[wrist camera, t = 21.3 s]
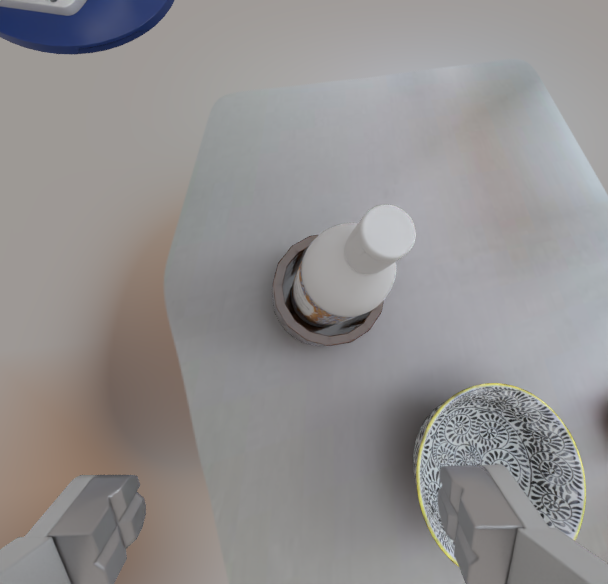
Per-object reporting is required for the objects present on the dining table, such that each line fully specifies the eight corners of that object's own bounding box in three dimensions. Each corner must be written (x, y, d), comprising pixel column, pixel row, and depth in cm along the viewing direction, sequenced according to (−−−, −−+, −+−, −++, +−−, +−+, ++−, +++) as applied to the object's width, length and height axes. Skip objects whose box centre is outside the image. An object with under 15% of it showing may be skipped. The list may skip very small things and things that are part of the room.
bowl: (387, 370, 35) (419, 376, 28) (517, 382, 37) (580, 390, 30) (381, 530, 32) (415, 583, 25) (523, 535, 34) (595, 586, 27)
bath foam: (281, 276, 35) (301, 184, 15) (338, 259, 36) (424, 153, 17) (301, 336, 34) (349, 318, 15) (359, 316, 35) (476, 274, 16)
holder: (279, 352, 34) (282, 353, 28) (266, 258, 36) (266, 240, 30) (373, 337, 36) (394, 335, 30) (356, 247, 38) (372, 228, 32)
